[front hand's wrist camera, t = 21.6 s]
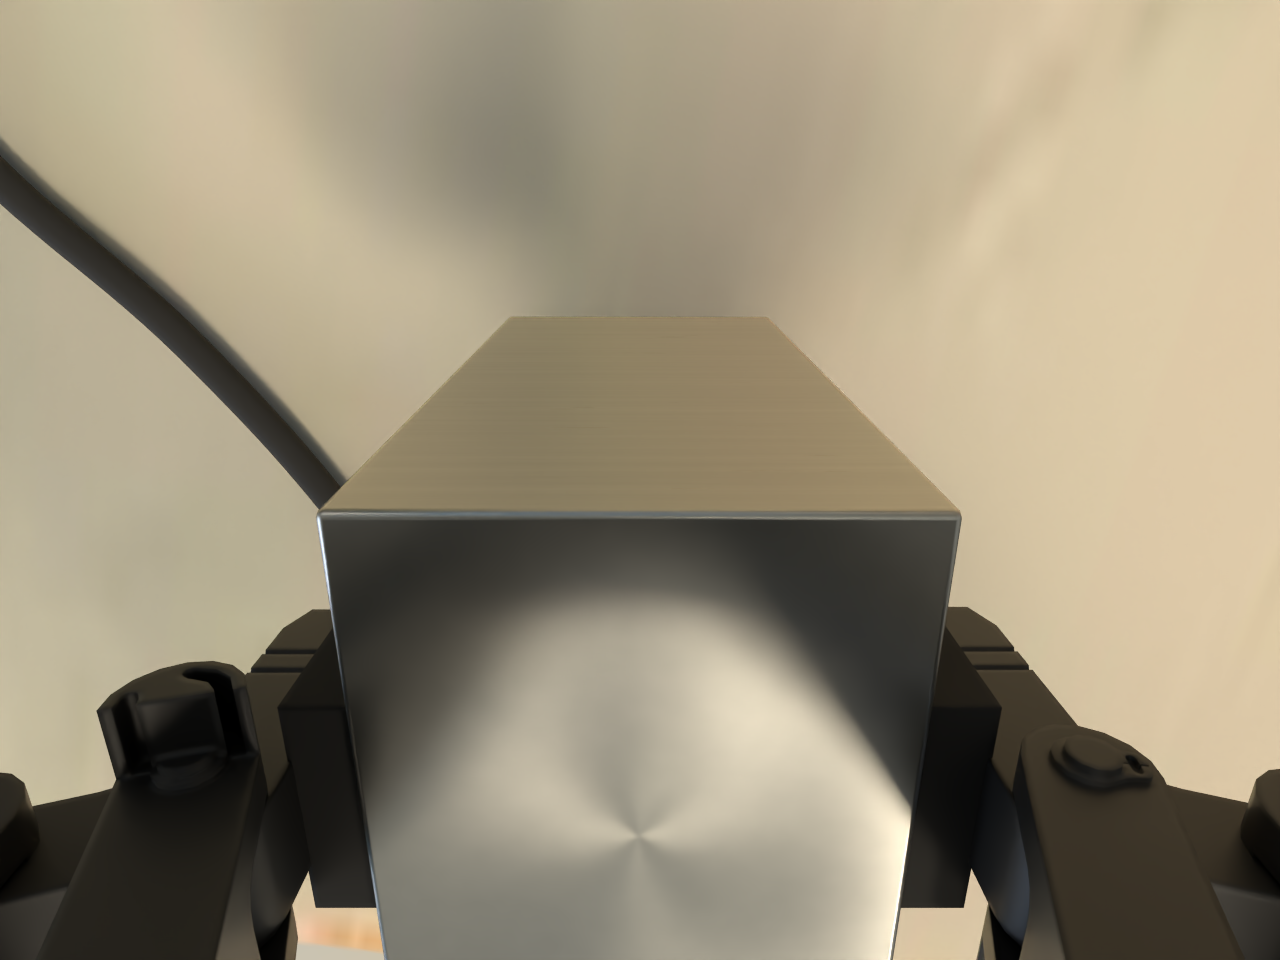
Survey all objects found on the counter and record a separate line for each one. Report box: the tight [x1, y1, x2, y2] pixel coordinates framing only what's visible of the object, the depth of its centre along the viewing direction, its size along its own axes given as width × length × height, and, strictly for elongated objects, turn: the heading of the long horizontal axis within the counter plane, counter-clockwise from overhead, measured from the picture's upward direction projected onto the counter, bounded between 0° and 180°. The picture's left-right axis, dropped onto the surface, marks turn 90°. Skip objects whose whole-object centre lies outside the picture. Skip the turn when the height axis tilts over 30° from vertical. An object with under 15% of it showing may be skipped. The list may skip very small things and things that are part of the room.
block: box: [316, 317, 962, 960], centre depth 14 cm, size 6×7×11 cm
